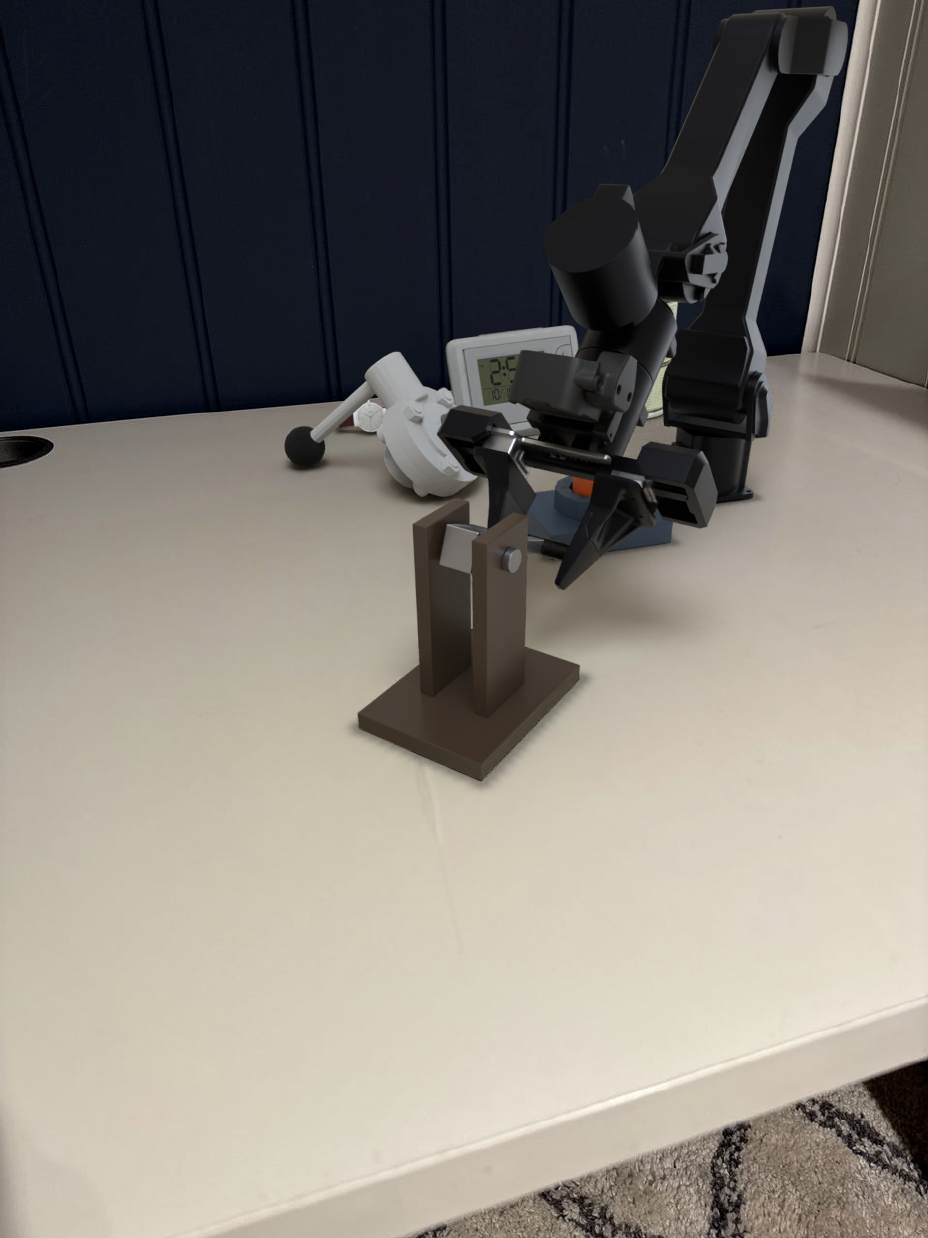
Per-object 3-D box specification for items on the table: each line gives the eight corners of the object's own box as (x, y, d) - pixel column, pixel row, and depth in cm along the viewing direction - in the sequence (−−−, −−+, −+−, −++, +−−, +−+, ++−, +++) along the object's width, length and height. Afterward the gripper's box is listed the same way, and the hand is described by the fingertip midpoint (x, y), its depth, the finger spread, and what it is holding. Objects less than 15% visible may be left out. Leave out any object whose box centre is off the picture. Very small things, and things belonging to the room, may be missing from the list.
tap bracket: (466, 640, 64) (463, 470, 57) (579, 679, 59) (590, 500, 53) (358, 728, 55) (340, 540, 49) (481, 781, 51) (479, 583, 44)
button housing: (627, 502, 84) (630, 461, 82) (670, 542, 77) (675, 499, 75) (515, 516, 82) (516, 475, 80) (549, 559, 74) (551, 515, 72)
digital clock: (456, 448, 97) (454, 349, 92) (439, 422, 105) (436, 329, 99) (597, 435, 100) (604, 338, 95) (571, 411, 108) (575, 319, 102)
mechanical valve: (457, 488, 80) (361, 346, 79) (336, 576, 91) (249, 452, 89) (505, 459, 88) (419, 330, 87) (389, 543, 99) (310, 429, 98)
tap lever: (506, 553, 61) (513, 519, 60) (571, 572, 58) (579, 536, 58) (418, 559, 52) (425, 518, 51) (491, 580, 49) (500, 538, 49)
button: (604, 481, 79) (605, 462, 78) (621, 496, 76) (622, 477, 75) (566, 485, 78) (567, 467, 78) (581, 501, 75) (582, 482, 75)
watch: (338, 437, 101) (335, 405, 99) (333, 424, 105) (331, 393, 103) (406, 431, 102) (404, 399, 100) (398, 418, 106) (397, 388, 104)
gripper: (453, 281, 59) (351, 489, 56) (730, 312, 50) (626, 562, 47) (511, 379, 68) (426, 561, 65) (752, 420, 59) (667, 633, 56)
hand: (523, 576), depth 58 cm, fingers closed on tap lever, 5 cm apart
